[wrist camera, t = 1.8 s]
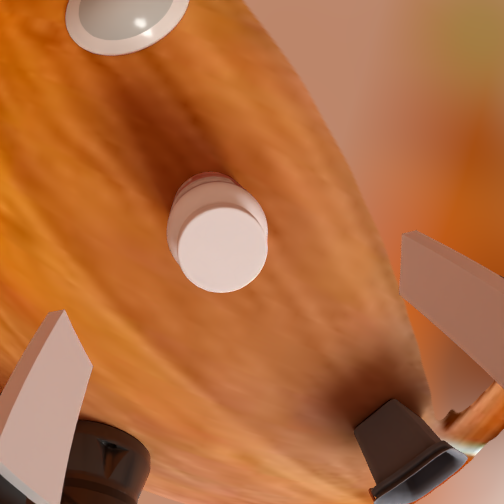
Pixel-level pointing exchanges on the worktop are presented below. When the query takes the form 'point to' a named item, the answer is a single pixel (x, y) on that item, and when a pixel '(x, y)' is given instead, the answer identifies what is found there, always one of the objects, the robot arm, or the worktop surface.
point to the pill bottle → (217, 232)
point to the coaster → (121, 23)
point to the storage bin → (404, 454)
